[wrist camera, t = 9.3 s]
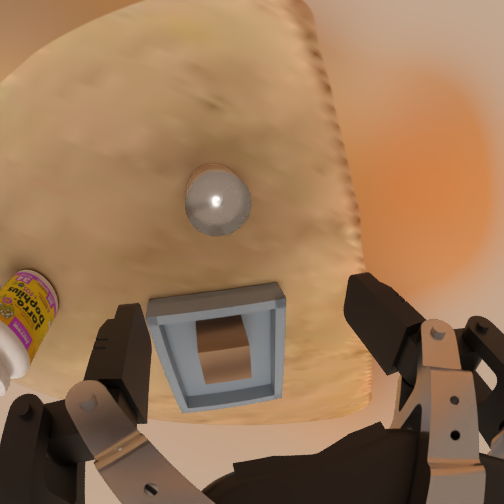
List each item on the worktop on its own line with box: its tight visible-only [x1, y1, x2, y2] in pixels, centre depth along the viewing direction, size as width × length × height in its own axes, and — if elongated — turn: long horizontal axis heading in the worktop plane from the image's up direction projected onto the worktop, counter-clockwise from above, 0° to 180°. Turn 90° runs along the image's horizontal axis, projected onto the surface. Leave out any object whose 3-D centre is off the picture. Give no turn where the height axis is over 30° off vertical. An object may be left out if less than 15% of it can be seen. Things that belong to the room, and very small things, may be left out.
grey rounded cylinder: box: [185, 163, 251, 236], centre depth 21 cm, size 4×4×6 cm
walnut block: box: [196, 314, 252, 384], centre depth 26 cm, size 4×4×5 cm
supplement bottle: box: [0, 270, 58, 396], centre depth 17 cm, size 7×7×13 cm
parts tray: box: [145, 282, 286, 413], centre depth 29 cm, size 13×16×3 cm
